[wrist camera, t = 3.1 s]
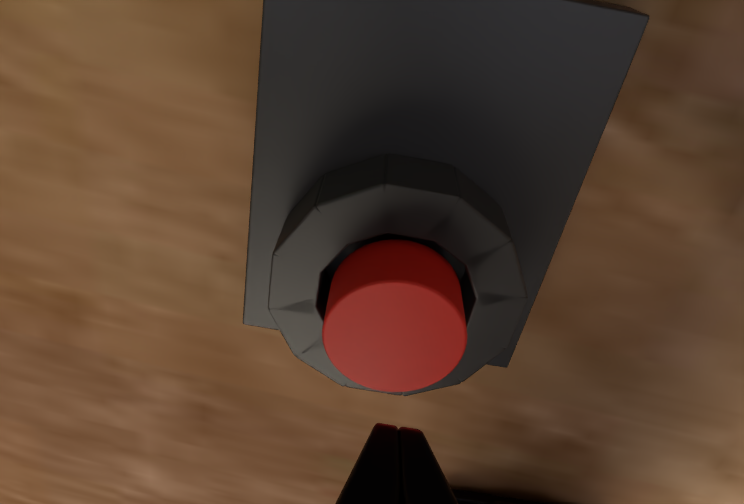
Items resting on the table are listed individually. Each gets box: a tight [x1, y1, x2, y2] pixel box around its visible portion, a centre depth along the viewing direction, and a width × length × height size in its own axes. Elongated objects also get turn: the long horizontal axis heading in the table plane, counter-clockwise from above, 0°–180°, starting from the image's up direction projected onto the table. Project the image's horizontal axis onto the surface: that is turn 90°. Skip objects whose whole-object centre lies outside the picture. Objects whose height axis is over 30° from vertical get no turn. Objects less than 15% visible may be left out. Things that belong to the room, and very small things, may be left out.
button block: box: [243, 0, 649, 396], centre depth 14 cm, size 10×8×3 cm
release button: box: [322, 239, 467, 392], centre depth 13 cm, size 3×3×2 cm
